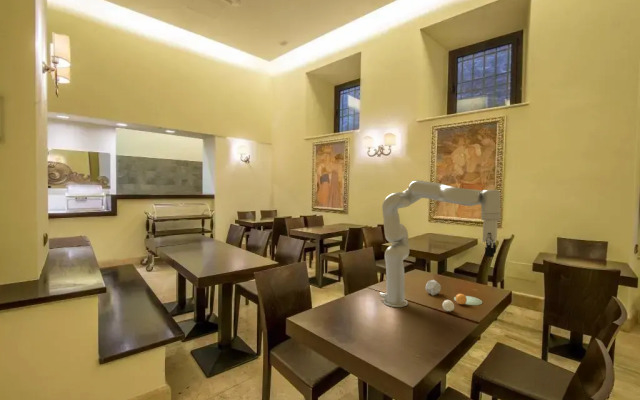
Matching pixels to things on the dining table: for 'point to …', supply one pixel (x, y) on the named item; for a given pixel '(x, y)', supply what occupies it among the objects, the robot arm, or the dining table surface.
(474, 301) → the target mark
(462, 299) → the object ball
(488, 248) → the robot arm
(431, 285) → the die
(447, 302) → the cue ball
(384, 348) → the dining table surface
